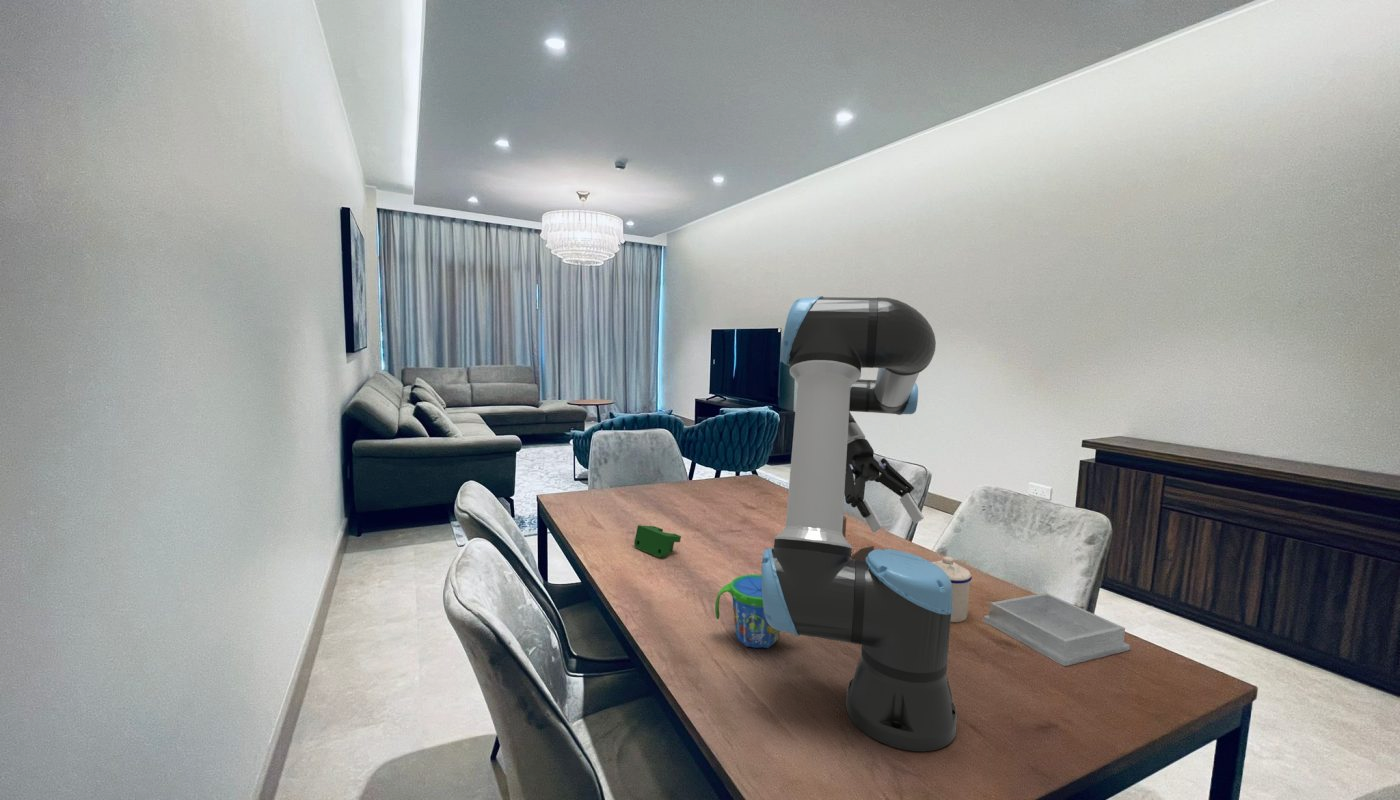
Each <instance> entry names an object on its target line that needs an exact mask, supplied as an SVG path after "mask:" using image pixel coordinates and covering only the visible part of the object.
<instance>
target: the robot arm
mask: <svg viewBox="0 0 1400 800" xmlns="http://www.w3.org/2000/svg"><path fill="white" fill-rule="evenodd" d="M782 340H783V341H782V347H781V360H782V363H783V364H784V365H787V366H788V367H789V375H790V376H791V378H793V379H794V380H795V381H796V382H797V386H796V387H797V388H796V389H797V390H796V401H795V409H794V411H795V413H794V422H793V434H792V435H793V437H792V448H791V456H790V457H791V458H790V469H789V484H788V492H787V507H786V518H785V527H784V529H783V530H781V531H780V532H779V533H778V534H777V535H776V536H774V541H773V542H774V543H773V548H772V547H768V548H766V549H764V550H763V553H762V559H761V560H762V565H761V575H762V598H763V608H764V613H765V618H766V620H767V622H768V624H769V625H770V626H771V627H772V628H773V629H775V630H778V631H779V632H784V633H789V634H793V635H795V636H796V637H800V636H806V637H812V638H817V639H824V640H832V641H837V642H843V643H849V644H857V645H861V654H860V659H859V660H858V663H857V665H856V669H855V671H854V675H853V677H852V678H851V680H850V682H849V683H848V686H847V690H846V699H845V707H846V708H845V709H846V712H847V714H848V716H849V718H850V720H851V721H852V722H853V724H854V725H855V726H856V727H857V728H858V729H859V730H860V731H861V732H863V733H864V734H866V735H867V736H869V737H870V738H872V739H873V740H876V741H877V742H880V743H881V744H884V745H887V746H890V747H893V748H896V749H900V750H906V751H911V752H930V751H932V752H933V751H936V750H937V751H938V750H939V749H943V748H945V747H946V746H948V745H950V744H951V743H952V742H953V740H954V739H955V737H956V735H957V734H956V732H957V722H958V714H957V710H956V707H955V704H954V700H953V695H952V691H951V687H950V683H949V679H948V676H947V675H948V674H947V671H948V669H947V668H948V658H949V647H950V646H949V645H950V635H951V634H950V632H951V622H950V621H951V613H952V612H953V605H952V584H951V580H950V578H949V577H948V575H947V574H946V573H945V572H944V571H943V570H942V569H941V568H940V567H938V566H937V565H935V564H933V563H931V562H932V561H929V559H928V560H927V559H925V558H923V557H921V556H918V555H915V554H912V553H909V552H906V551H901V550H896V549H891V548H890V549H889V548H883V549H879V548H877V549H874V550H873V551H871V552H870V553H869V554H868V556H867V557H866V561H862V560H855V559H852V558H851V556H852V549H853V546H852V545H851V544H850V542H849V541H848V540H847V539H846V536H845V537H844V536H843V533H842V527H843V516H844V510H845V509H844V507H845V503H846V504H847V505H850V506H851V507H852V508H853V509H854V508H857V510H858V511H859V513H860V515H861V517H862V518H864V520H865V522H866V524H867V525H868V527H869V528H870V530H871V531H872V533H877V531H878V530H880V529H881V528H882V527H883V523H882V522H881V520H880V519H879V516H878V515H877V514H876V512H875V510H874V509H873V508H874V507H872V505H871V503H870V501H869V500H868V499H865V489H866V483H867V482H873V481H874V482H876V483H881V484H882V485H883V486H884V487H886V488H887V489H888V490H890V491H891V492H893V493H894V494H896V495H897V496H899V497H900V498H899V502H900V503H901V504H902V506H903V508H904V510H905V511H906V512H907V515H908V516H909V517H910V520H911V521H912V522H913V524H914V525H916V524H919V523H920V522H921V521H922V520H924V519H925V516H924V515H923V513H922V512H921V510H920V509H919V507H918V505H917V503H916V501H915V499H914V497H913V496H912V494H911V493H912V492H913V491H914V490H915V487H914V486H913V484H911V483H910V482H909V481H908V480H907V479H906V478H904V477H903V476H902V475H901V473H900V472H898V471H897V470H896V469H895V468H894V467H893V466H892V465H891V464H890V463H889V461H888V460H887V459H886V458H884V457H883V458H882V459H880V460H876V459H875V457H874V455H875V454H874V453H875V451H874V449H873V447H872V445H871V444H870V442H869V441H868V440H867V439H866V435H865V434H864V433H863V431H862V429H861V427H860V425H859V424H858V422H856V420H855V418H854V416H853V415H852V413H851V412H856V413H857V412H858V413H859V412H861V413H874V414H875V413H877V414H888V415H890V414H891V415H899V416H901V415H913V414H915V413H916V411H917V407H918V401H919V388H918V384H917V383H916V382H917V380H918V377H919V374H920V373H921V372H923V371H924V370H925V369H926V368H927V367H928V366H929V365H930V363H931V362H932V359H933V357H934V355H935V352H936V344H937V343H936V335H935V332H934V330H933V327H932V326H931V324H930V323H929V321H928V320H927V319H926V317H925V316H924V315H923V314H922V313H920V312H919V311H918V310H917V309H916V308H914V307H913V306H911V305H909V304H908V303H905V302H903V301H901V300H898V299H894V298H890V297H882V296H881V297H843V296H842V297H840V296H839V297H836V296H835V297H833V296H832V297H829V296H827V297H826V296H825V297H824V296H823V295H819V296H816V297H815V296H813V297H800V298H798V299H797V300H795V301H794V303H792V305H791V306H790V309H789V312H788V314H787V318H786V321H785V327H784V330H783V338H782ZM864 368H867V369H870V368H871V369H873V368H874V369H875V368H876V369H878V370H877V373H876V374H877V375H876V379H861V376H862V369H864Z"/></svg>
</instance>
